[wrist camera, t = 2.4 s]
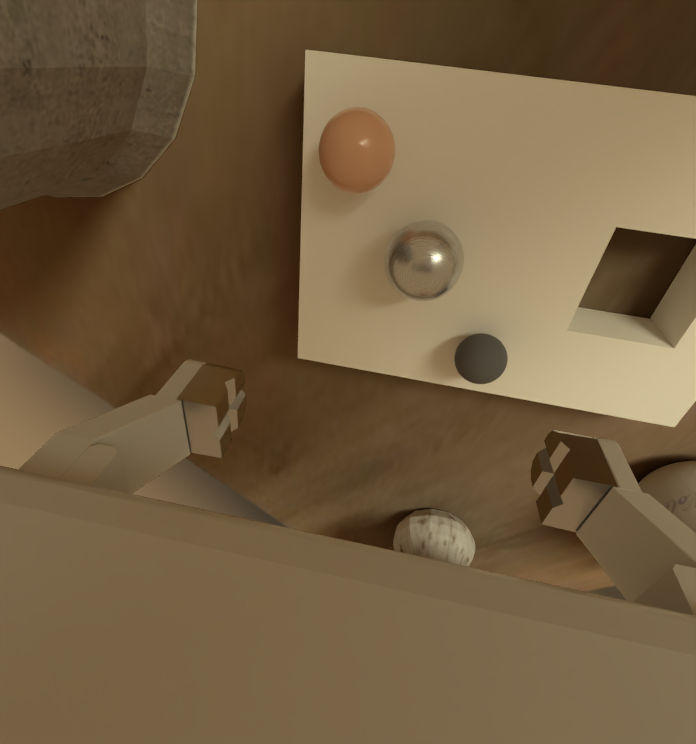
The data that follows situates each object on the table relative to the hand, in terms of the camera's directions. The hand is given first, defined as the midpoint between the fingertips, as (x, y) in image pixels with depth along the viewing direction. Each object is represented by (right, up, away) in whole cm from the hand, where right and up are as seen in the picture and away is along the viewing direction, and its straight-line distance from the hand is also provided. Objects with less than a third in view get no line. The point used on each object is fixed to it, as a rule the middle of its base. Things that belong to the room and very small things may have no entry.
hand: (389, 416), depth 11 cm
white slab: (+9, +9, +14) cm, 19 cm away
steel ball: (+3, +7, +10) cm, 13 cm away
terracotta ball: (-1, +11, +8) cm, 14 cm away
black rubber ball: (+7, +2, +13) cm, 15 cm away
